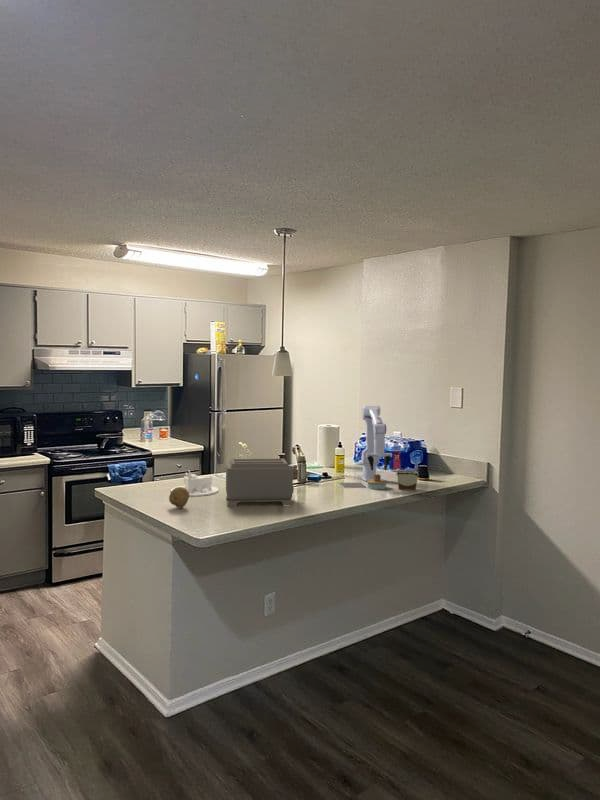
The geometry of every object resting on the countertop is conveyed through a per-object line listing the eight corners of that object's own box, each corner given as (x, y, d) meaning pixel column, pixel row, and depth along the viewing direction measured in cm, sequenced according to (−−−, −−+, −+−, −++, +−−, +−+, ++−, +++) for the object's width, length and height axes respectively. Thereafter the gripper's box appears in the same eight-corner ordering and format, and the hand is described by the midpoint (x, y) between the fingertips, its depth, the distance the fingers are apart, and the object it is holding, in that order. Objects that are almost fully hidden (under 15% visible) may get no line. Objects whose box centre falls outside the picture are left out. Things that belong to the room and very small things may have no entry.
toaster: (299, 506, 301) (300, 464, 300) (226, 507, 296) (227, 464, 295) (293, 497, 320) (294, 457, 319) (225, 498, 315) (225, 458, 314)
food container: (417, 488, 349) (418, 470, 348) (418, 490, 342) (419, 472, 342) (395, 487, 350) (395, 469, 349) (395, 489, 344) (396, 471, 343)
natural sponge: (173, 511, 286) (174, 489, 285) (165, 507, 293) (165, 486, 292) (192, 508, 291) (192, 487, 290) (183, 505, 298) (183, 484, 298)
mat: (340, 483, 357) (340, 482, 357) (360, 483, 359) (360, 482, 359) (344, 487, 346) (344, 487, 346) (365, 487, 348) (365, 486, 347)
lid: (364, 480, 352) (364, 473, 352) (383, 480, 354) (383, 472, 353) (370, 484, 341) (370, 476, 341) (389, 484, 343) (389, 476, 342)
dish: (175, 498, 313) (175, 476, 313) (167, 488, 337) (167, 467, 336) (223, 495, 322) (223, 473, 322) (211, 486, 346) (212, 465, 345)
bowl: (365, 485, 352) (365, 480, 351) (382, 485, 353) (383, 480, 353) (370, 489, 342) (370, 484, 342) (388, 489, 343) (388, 484, 343)
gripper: (368, 446, 340) (367, 471, 341) (394, 446, 342) (393, 471, 343) (365, 444, 347) (364, 469, 348) (390, 444, 349) (389, 468, 350)
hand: (378, 469), depth 346 cm, fingers open, 7 cm apart
